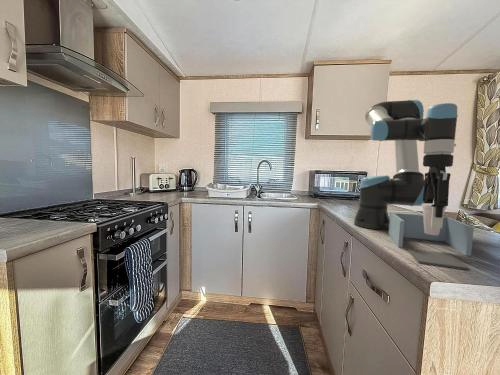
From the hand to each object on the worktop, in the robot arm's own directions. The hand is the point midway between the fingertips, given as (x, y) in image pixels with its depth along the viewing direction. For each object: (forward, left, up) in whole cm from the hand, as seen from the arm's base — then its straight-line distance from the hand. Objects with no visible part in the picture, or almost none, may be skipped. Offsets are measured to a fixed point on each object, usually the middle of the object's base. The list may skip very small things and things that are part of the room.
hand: (432, 225), depth 76 cm
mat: (+10, -2, -8) cm, 13 cm away
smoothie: (0, 0, -3) cm, 3 cm away
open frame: (-6, 0, -8) cm, 10 cm away
